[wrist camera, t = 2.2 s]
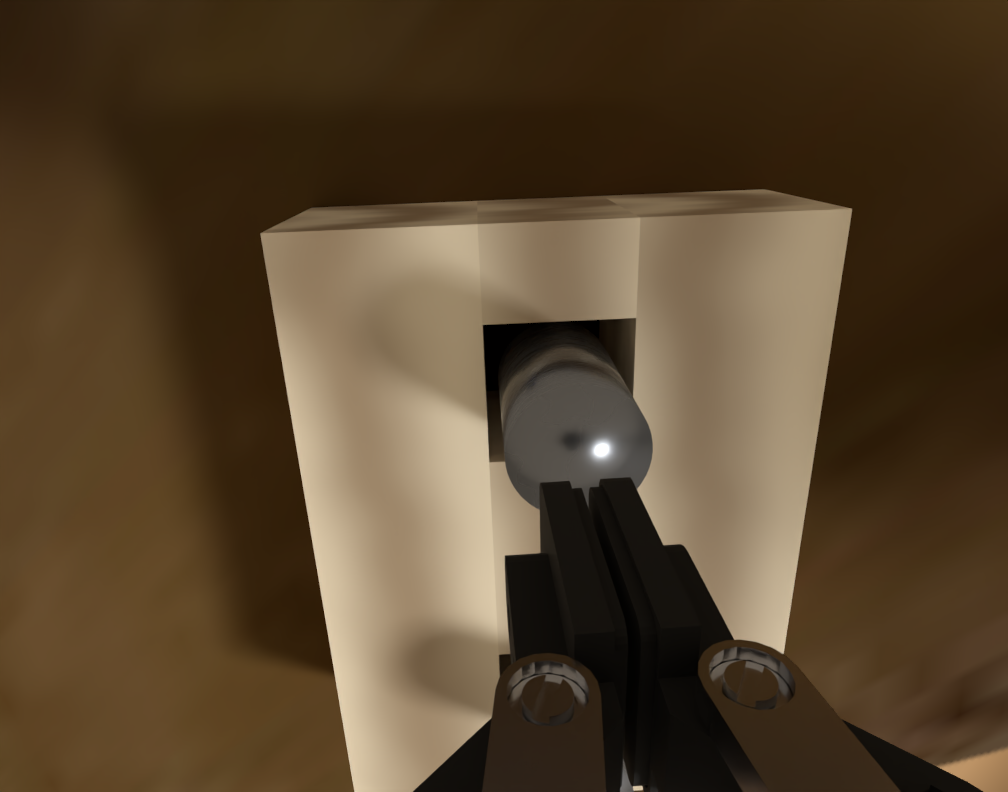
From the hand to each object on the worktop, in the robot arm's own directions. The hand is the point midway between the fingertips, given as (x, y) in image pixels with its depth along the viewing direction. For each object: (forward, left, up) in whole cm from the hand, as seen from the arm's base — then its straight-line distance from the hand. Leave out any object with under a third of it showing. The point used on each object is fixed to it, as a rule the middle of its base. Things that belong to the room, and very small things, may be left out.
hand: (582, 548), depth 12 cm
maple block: (0, +6, -14) cm, 15 cm away
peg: (-1, 0, -10) cm, 10 cm away
